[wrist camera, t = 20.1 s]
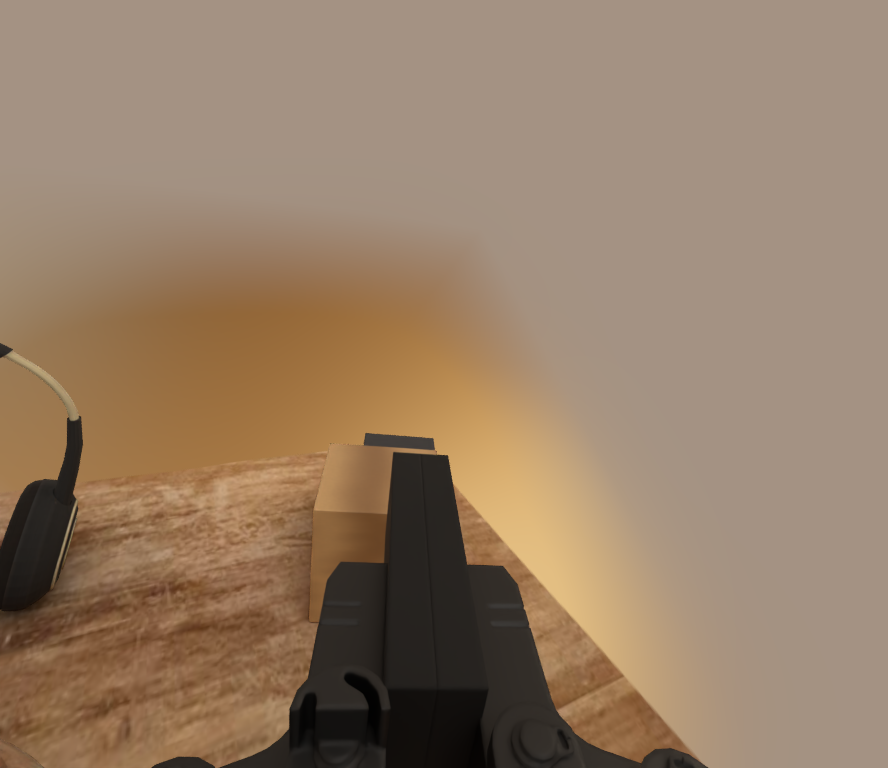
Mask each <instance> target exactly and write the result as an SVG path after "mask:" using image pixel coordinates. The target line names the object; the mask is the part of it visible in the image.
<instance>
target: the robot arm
mask: <svg viewBox="0 0 888 768" xmlns="http://www.w3.org/2000/svg"><path fill="white" fill-rule="evenodd" d="M152 768H215V767H214V766H213V765H211V764H209V763H208V762H206V761H204V760H202V759H201V758H199V757H176V758H173V759H170V760H168V761H165V762H162V763H159V764H156V765H154V766H153V767H152ZM220 768H708V767H706V766H705V765H703V764H702V763H701V762H699V761H698V760H696V759H695V758H693V757H692V756H690V755H689V754H686V753H683V752H680V751H677V750H674V749H672V748H668V749H655V750H654V751H652V752H651V753H650V754H648V755H647V756H646V757H644V759H643V761H642V764H641V763H638V762H636V761H633V760H630V759H627V758H624V757H621V756H619V755H616V754H613V753H610V752H607V751H604V750H602V749H599V748H597V747H595V746H593V745H591V744H589V743H587V742H586V741H584V740H583V739H582V738H580V737H579V736H578V735H576V734H575V733H574V732H573V731H572V729H571V727H570V726H569V725H568V724H567V723H566V722H565V721H564V720H563V719H562V717H561V716H560V715H559V714H558V712H557V711H556V709H555V706H554V704H553V701H552V699H551V696H550V693H549V689H548V686H547V683H546V679H545V676H544V672H543V669H542V666H541V662H540V659H539V656H538V652H537V649H536V645H535V642H534V639H533V635H532V632H531V628H529V622H528V618H527V615H526V612H525V610H524V605H523V601H522V598H521V595H520V591H519V588H518V585H517V583H516V582H515V581H514V579H513V578H512V577H511V576H510V574H509V573H508V572H507V570H506V569H505V568H504V567H503V566H491V565H467V562H466V556H465V550H464V544H463V539H462V533H461V527H460V522H459V516H458V510H457V505H456V499H455V493H454V487H453V482H452V476H451V471H450V465H449V459H448V455H433V454H418V453H403V452H393V459H392V469H391V480H390V490H389V500H388V511H387V521H386V532H385V551H384V563H367V562H340V563H339V564H338V566H337V567H336V568H335V570H334V571H333V572H332V574H331V575H330V576H329V578H328V579H327V582H326V588H325V593H324V598H323V604H322V608H321V613H320V619H319V625H318V629H317V634H316V639H315V644H314V650H313V655H312V660H311V665H310V670H309V675H308V679H307V680H306V681H305V682H304V683H303V685H302V686H301V687H300V688H299V689H298V690H297V692H296V695H295V697H294V700H293V702H292V704H291V707H290V715H289V730H288V731H287V732H286V733H285V734H284V735H283V736H282V737H281V738H280V739H279V740H278V741H276V742H275V743H274V744H272V745H271V746H270V747H268V748H267V749H265V750H263V751H261V752H259V753H257V754H255V755H253V756H250V757H247V758H245V759H242V760H239V761H236V762H234V763H231V764H228V765H225V766H223V767H220Z"/></svg>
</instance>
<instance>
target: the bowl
mask: <svg viewBox="0 0 888 768" xmlns="http://www.w3.org/2000/svg"><path fill="white" fill-rule="evenodd" d="M0 768H43V767H42V766H41V765H40V764H39V763H38V762H37V761H36V760H35V759H33V758H32V757H31V756H30V755H28V754H27V753H25V752H24V751H22V750H21V749H19V748H18V747H16V746H15V745H13V744H11V743H9V742H6V741H4V740H1V739H0Z"/></svg>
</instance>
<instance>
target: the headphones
mask: <svg viewBox="0 0 888 768" xmlns="http://www.w3.org/2000/svg"><path fill="white" fill-rule="evenodd" d="M12 350H13V349H11V348H9V347H7V346H5V345H3V344H1V343H0V358H1V357H4V358H7V359H9V360H11V361H13V362H15V363H17V364H19V365H21V366H22V367H24V368H26V369H28V370H29V371H31V372H32V373H34V374H35V375H36V376H38V377H39V378H40V379H42V380H43V381H44V382H45V383H46V384H47V385H49V386H50V387H51V388H52V389H53V390H54V391H55V393H56V394H57V395H58V396H59V398H60V399H61V400H62V401H63V403H64V405H65V407H66V408H67V412H68V416H69V417H68V418H67V448H66V452H65V458H64V461H63V465H62V468H61V471H60V474H59V477H58V480H49V479H44V480H39V481H34V482H32V483H31V484H29V485H28V486H27V487H26V488H25V490H24V491H23V493H22V494H21V496H20V498H19V500H18V503H17V505H16V507H15V510H14V512H13V515H12V517H11V520H10V522H9V525H8V528H7V531H6V534H5V537H4V539H3V543H2V546H1V549H0V609H1V610H2V611H16V610H20V609H24V608H26V607H28V606H29V605H31V604H33V603H34V602H36V601H37V600H39V599H40V598H41V597H42V596H43V595H45V594H46V593H47V592H48V591H49V590H52V589H53V587H54V584H55V583H56V581H57V580H58V578H59V575H60V571H61V569H63V567H64V563H65V560H66V556H67V553H68V549H69V546H70V542H71V539H72V535H73V532H74V528H75V524H76V521H77V518H76V515H77V512H78V505H77V504H78V499H76V498H75V496H74V495H73V491H74V487H75V482H76V478H77V474H78V470H79V464H80V458H81V452H82V446H83V440H82V424H81V417H80V416H79V415H78V411H77V409H76V406H75V404H74V403H73V401H72V399H71V398H70V396H69V395H68V393H67V392H66V391H65V390H64V388H63V387H62V386H61V385H60V384H59V383H58V382H57V381H56V380H55V379H54V378H53V377H52V376H50V375H49V374H48V373H46V372H45V371H44V370H43V369H41V368H39V367H38V366H36V365H35V364H33V363H32V362H30V361H28V360H27V359H25V358H23V357H21V356H20V355H18V354H16V353H15V352H13V351H12Z"/></svg>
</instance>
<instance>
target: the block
mask: <svg viewBox="0 0 888 768" xmlns="http://www.w3.org/2000/svg"><path fill="white" fill-rule="evenodd" d="M364 446H379V447H393V448H408V449H423V450H435V448H434V441H433V438H421V437H409V436H408V437H407V436H396V435H382V434H370V433H366V434H365V440H364Z"/></svg>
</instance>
